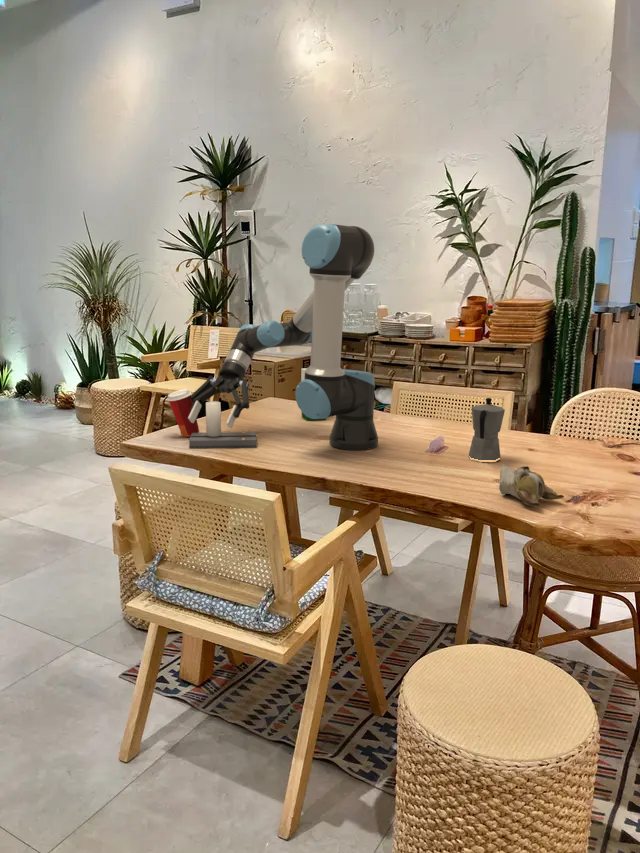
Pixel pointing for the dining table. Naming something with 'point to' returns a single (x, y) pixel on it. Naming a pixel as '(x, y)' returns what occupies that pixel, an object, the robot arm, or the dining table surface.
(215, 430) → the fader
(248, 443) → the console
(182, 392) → the paper cup
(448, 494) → the dining table surface
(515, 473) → the ceramic sculpture
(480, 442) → the coffeepot
